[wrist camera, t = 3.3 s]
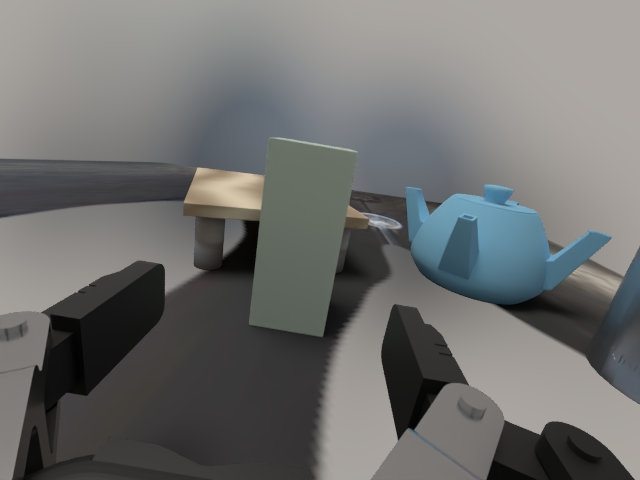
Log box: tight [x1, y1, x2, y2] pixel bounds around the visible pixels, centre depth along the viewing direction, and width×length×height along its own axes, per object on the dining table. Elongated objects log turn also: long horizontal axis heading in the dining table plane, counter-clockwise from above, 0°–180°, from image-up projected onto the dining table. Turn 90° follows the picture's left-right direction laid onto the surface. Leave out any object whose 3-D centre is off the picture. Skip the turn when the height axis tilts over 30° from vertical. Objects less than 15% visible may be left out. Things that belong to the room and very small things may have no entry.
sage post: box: [249, 138, 359, 337], centre depth 21 cm, size 5×5×12 cm
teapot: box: [406, 184, 611, 305], centre depth 34 cm, size 15×15×11 cm
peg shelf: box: [184, 168, 369, 273], centre depth 37 cm, size 16×20×6 cm
